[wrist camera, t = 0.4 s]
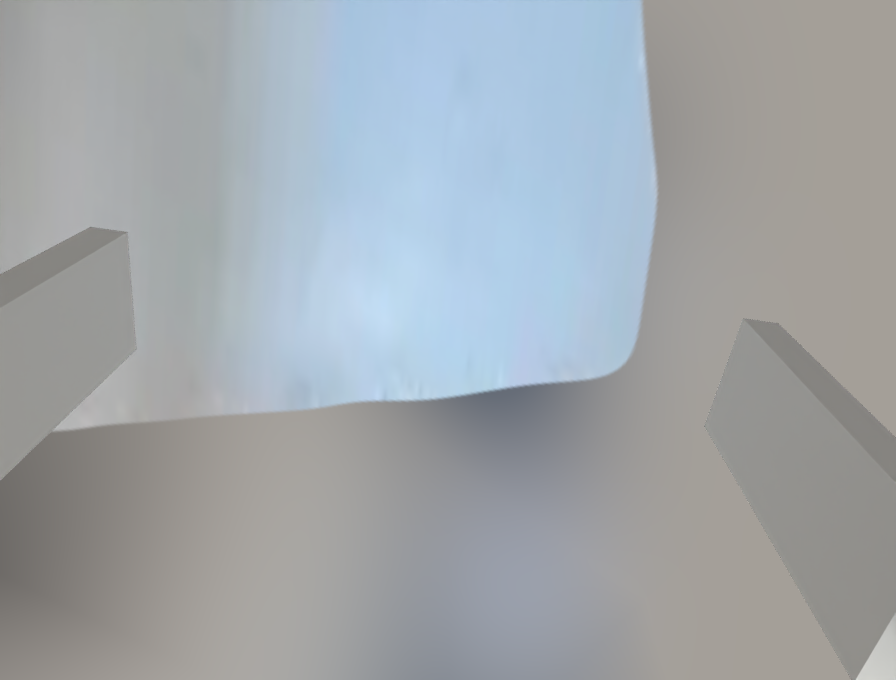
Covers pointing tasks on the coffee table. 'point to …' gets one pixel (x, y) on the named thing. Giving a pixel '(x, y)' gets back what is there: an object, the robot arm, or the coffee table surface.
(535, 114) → the coffee table surface
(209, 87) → the coffee table surface
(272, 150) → the coffee table surface
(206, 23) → the coffee table surface
